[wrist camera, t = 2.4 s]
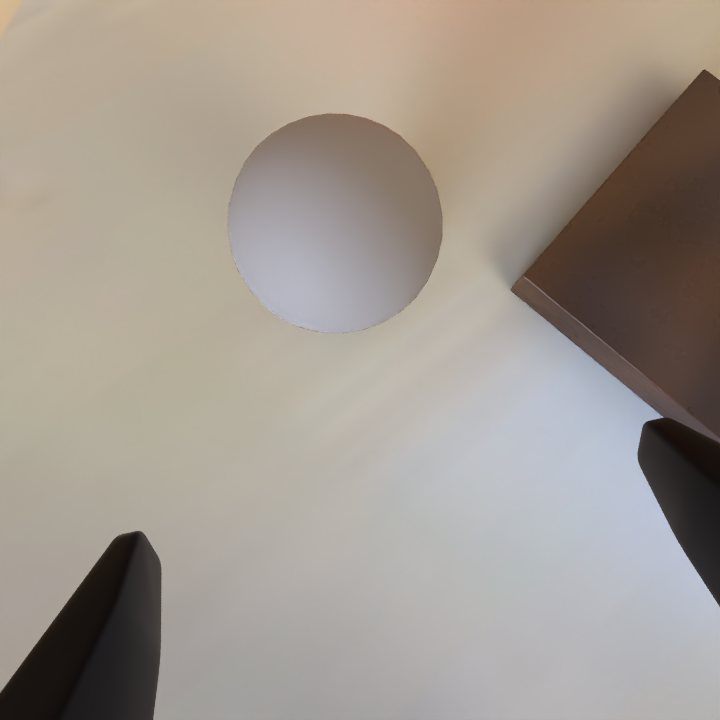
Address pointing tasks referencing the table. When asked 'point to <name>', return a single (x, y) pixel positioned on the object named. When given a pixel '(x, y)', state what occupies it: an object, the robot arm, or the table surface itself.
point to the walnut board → (648, 266)
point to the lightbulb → (335, 223)
